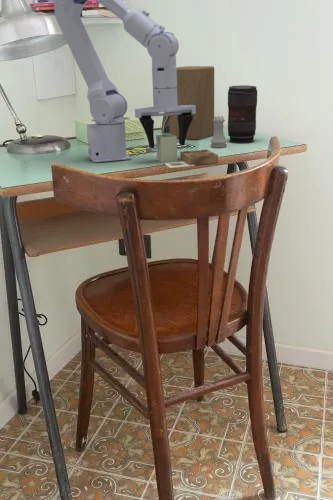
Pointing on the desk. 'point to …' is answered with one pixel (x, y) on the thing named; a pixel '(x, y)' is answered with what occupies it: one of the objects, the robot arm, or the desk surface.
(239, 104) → the camera lens
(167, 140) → the top brick
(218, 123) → the rook chess piece
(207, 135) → the wooden block
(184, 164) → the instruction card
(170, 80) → the robot arm
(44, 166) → the desk surface
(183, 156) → the base brick
